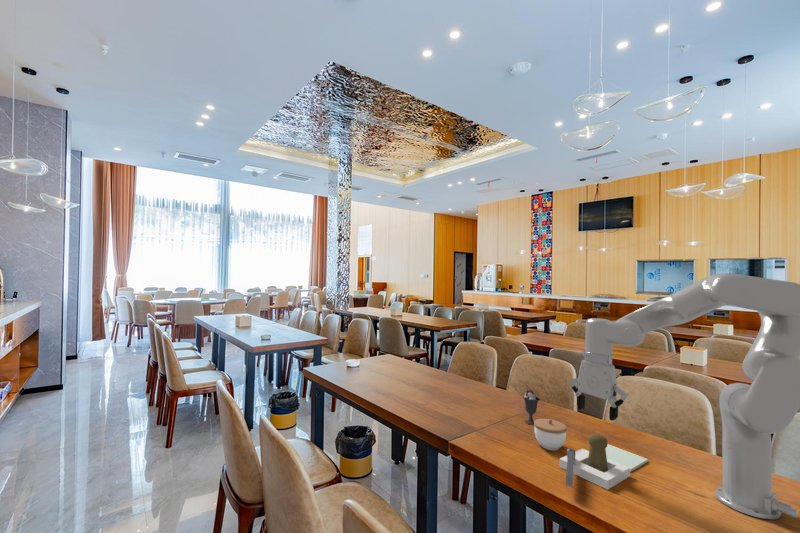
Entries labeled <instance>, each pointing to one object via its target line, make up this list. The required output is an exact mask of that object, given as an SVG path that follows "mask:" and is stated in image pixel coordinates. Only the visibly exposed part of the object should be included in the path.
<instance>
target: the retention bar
mask: <svg viewBox="0 0 800 533" xmlns="http://www.w3.org/2000/svg"><path fill="white" fill-rule="evenodd" d="M575 452H576V449H574V448H573V447H567V448H566V456H567V458H568V459H567V470H566V474H565V485H566V486H569V487H571V488H573V486H574V485H573V483H574V474H573V466H574V459H575Z"/></svg>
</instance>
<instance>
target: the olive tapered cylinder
mask: <svg viewBox="0 0 800 533" xmlns="http://www.w3.org/2000/svg"><path fill="white" fill-rule="evenodd" d="M587 440H588V444H589V450H588V451H589V456H588V463H587V465H588V466H590V467H593V468H595V469H597V470H599V471H602V472H604V473H605V472H606V471H608V464H607V457H606V449H605V448H606V447H607V445H608V444H609V443H608V439H607V438H606V437H605V436H603V434H602V435H601V434H597V433H592V434H590V435H588V438H587Z"/></svg>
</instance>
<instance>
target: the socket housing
mask: <svg viewBox="0 0 800 533" xmlns="http://www.w3.org/2000/svg"><path fill="white" fill-rule="evenodd" d="M588 456H589V450H588V449H585V448H581V449H578V450H575V459H574V466H573V475H575V476H577V477H580V478H582V479H584V480H586V481H589V482H591V483H592V484H594V485H597V486H598V487H601V488H602V489H606V490H607V491H608V490H610V489H611V488H613V487H615V486H616V485H618V484H620V483H621V482H623V481H624V480H627V478H629V477H631V476H630V475H631V472H630V468H629V467H626V466H624V465H622V464H619V463H617V462H614V461H612V460H609V459H607V464H608V471H606V472H605V473H604V472H602V471H599V470H597V469H595V468H593V467H590V466H588V465H587V463H588ZM567 459H568V458H567V455H565V456H562V457H560V458H559V459H558V460H559V465H558V466H559V468H561V469H562V470H565V471H567Z"/></svg>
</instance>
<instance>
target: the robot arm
mask: <svg viewBox="0 0 800 533" xmlns="http://www.w3.org/2000/svg"><path fill="white" fill-rule="evenodd" d="M724 306H731V307H736V308H741V309H746V310H752V311H757V313H758V315H759V317H760V324H761V325H760V328H759V331H758V333H757V336H756V338H755V339H754V341H753V343H752V345H751V346H750V348H749V350H748V352H747V353H746V354H745V357H744V359H743V361H742V364H741V366H742V367H741V368H742V371H743V372H744V375H746V376H747V377H748V378H749V379H750V380H751V381H752V383H751V384H748V383H743V382H734V383H730V384H728V385H726V386H724V387H723V388H722V390H721V392H720V394H719V399H718V400H719V402H718V403H719V410H720V415H721V416H720V417H721V424H722V425H721V428H722V439H721V440H722V444H721V445H722V451H721V452H722V454H721V455H722V486H719V487H717V488H715V490H714V493H715V497H716V498H717V499H718V500H719V501H720V502H721V503H722V504H724V505H726V506H727V507H728V508H731V509H733V510H735V511H737V512H739V513H742V514H745V515H748V516H751V517H753V518H759V519H763V520H777V519H780V518H781V516H782V514H784V515H787V516H788V517H790V518H794V519H797V518H798V510H797V509H794V508H793V505H792V504H789V503H786V502H783V501H780V500H779V499H777V496H776V495H777V494H776V493H775V492H773V471H772V468H773V467H772V465H773V464H772V463H773V462H772V460H773V458H772V457H773V455H772V453H773V443H772V434H777V433H781V432H782V431H784V430H785V429H786V428H788V427H789V425H790V424H791V423H792V422H793V420H794V418H795V417H796V415H797V413H798V411H799V409H800V359H799V356H800V283H799V282H794V281H787V280H779V279H772V278H771V279H770V278H764V277H758V276H751V275H746V274H745V275H744V274H740V273H739V274H738V273H733V272H730V273H727V272H726V273H716V274H711V275H709V276H706V277H705V278H702V279H700V280H698V281H697V282H694V283H692V284H690V285H688V286H686V287H684V288H682V289H680V290H678V291H676V292H674V293H672V294H669V295H667V296H665V297H663V298H661V299H658V300H656V301H654V302H652V303H650V304H648V305H646V306H644V307H642V308H639V309H637V310H636V309H635V311H632V312H631V313H628V314H625V315H623V316H622V317H621V318H618V319H617V320H615V321H611V320H610V319H606V318H599V317H598V318H597V317H592V318H587V319H586V322H585V336H584V337H585V338H584V340H585V342H584V351H581V353H580V355H581V356H583V359H582V360H581V361H580V362H581V363H580V367H579V370H578V377H576V378H572V379H570V380H569V383H570V386H571V390H572V391H573V392H574V393H575V394H574V395H575V396H576V406H577V410H579V411H580V410H583V409H585V408H586V396H585V394H586V395H588V396H592V397H595V398H598V399H602V400H607V401H608V403H609V404H610V405H611V406H609V417H608V419H609V421H615V420H617V419H618V417H619V407H620V406H622V405H623V404H625V403H626V401H627V400H628V398H629V397H630V396H629V394H628V393H627V392H625V391H624V390H623V389H621V388H620V387H619V386H618V382H617V373H616V367H615V365H614V364H613V349H614V347H613V346H614V345H615V344H616V345H620V346H624V347H630V348H632V347H633V348H634V347H637V346H639V345H641V344H643V342H644V341H645V339H646V338H645V337H646V335H647V334H649V333H651V332H653V331H655V330H658V329H662V328H665V327H671V326H678V325H682V324H683V325H684V324H687V323H688V322H691V321H693V320H695V319H697V318H699V317H702V316H704V315H705V314H708V313H711V312H713V311H715V310H717V309H720V308H722V307H724ZM617 394H618V395H619V396H620V398H619V399H618V398H617Z"/></svg>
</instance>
